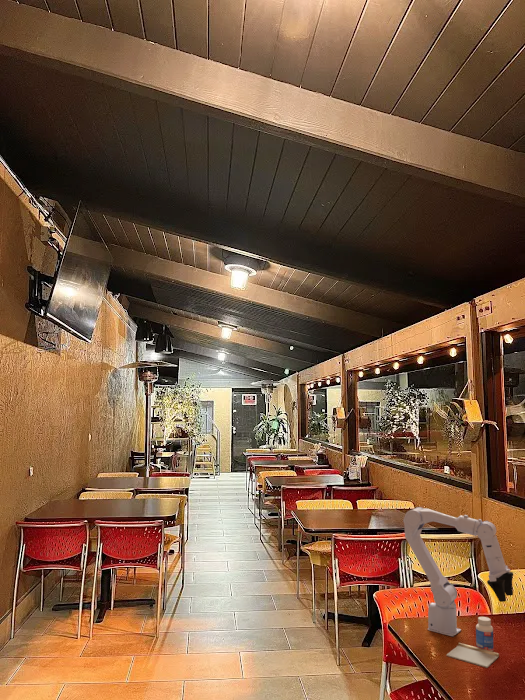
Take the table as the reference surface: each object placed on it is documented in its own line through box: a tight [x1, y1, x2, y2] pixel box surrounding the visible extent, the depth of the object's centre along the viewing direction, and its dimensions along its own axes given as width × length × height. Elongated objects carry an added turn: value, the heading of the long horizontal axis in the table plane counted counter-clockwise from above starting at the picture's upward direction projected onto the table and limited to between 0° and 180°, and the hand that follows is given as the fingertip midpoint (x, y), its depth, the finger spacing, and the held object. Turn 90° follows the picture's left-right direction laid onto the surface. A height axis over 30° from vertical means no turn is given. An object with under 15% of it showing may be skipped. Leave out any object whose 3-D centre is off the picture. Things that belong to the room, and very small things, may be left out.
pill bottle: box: [475, 616, 494, 652], centre depth 188 cm, size 6×5×10 cm
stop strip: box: [457, 642, 500, 658], centre depth 186 cm, size 13×1×1 cm, turn 49°
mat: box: [446, 644, 499, 669], centre depth 182 cm, size 13×10×1 cm
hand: (506, 598), depth 194 cm, fingers open, 7 cm apart
